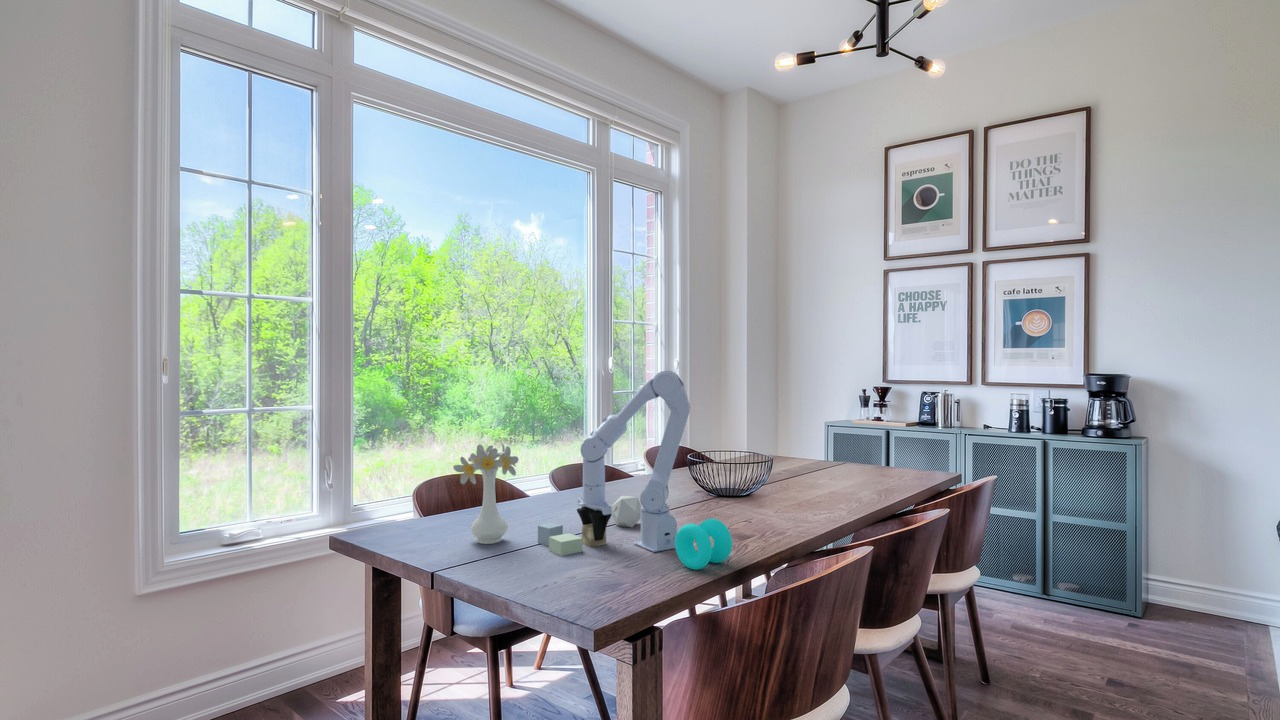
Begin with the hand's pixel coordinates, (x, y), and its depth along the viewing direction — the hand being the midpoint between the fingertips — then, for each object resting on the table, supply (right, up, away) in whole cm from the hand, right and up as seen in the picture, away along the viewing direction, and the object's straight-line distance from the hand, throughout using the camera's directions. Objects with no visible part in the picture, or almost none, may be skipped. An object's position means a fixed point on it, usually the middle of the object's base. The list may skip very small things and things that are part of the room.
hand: (594, 537), depth 170 cm
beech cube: (0, -1, 0) cm, 1 cm away
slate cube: (-11, -2, +1) cm, 12 cm away
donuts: (+26, -1, -19) cm, 32 cm away
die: (+8, -2, +19) cm, 21 cm away
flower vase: (-27, -2, +2) cm, 27 cm away
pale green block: (-7, -2, -6) cm, 9 cm away
